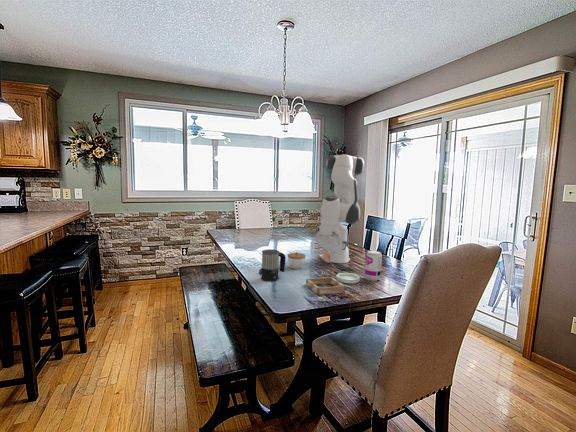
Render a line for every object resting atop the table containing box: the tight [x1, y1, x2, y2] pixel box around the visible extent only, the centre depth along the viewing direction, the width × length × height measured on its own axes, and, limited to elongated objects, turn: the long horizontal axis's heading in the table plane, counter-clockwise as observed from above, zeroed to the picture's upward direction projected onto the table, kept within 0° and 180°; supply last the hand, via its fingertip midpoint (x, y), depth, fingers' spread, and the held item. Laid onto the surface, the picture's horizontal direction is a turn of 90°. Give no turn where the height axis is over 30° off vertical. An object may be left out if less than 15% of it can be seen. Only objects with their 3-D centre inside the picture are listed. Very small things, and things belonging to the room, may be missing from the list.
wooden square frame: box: [305, 276, 346, 296], centre depth 145 cm, size 14×14×3 cm
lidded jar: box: [287, 251, 306, 270], centre depth 179 cm, size 11×11×9 cm
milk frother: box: [258, 249, 286, 282], centre depth 159 cm, size 14×16×15 cm
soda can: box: [364, 250, 383, 282], centre depth 161 cm, size 8×8×15 cm
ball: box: [322, 252, 332, 263], centre depth 145 cm, size 5×5×5 cm
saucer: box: [335, 272, 361, 285], centre depth 159 cm, size 12×12×2 cm
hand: (328, 258), depth 145 cm, fingers closed on ball, 5 cm apart
